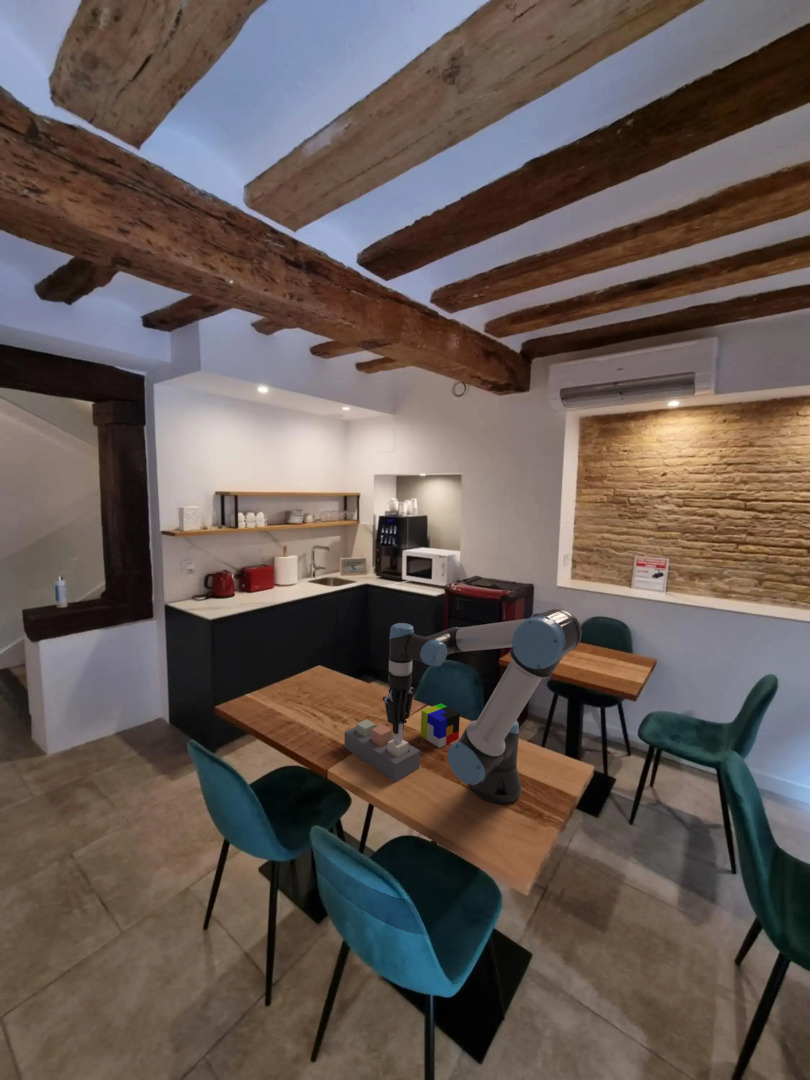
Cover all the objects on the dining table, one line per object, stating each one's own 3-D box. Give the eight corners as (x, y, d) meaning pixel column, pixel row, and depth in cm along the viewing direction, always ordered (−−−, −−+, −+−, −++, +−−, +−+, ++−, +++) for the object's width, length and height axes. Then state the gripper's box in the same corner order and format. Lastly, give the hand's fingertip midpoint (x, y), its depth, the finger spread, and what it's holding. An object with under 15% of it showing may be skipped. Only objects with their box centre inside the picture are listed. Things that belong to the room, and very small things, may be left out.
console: (419, 767, 149) (420, 750, 149) (395, 782, 142) (396, 764, 141) (368, 736, 168) (368, 721, 167) (344, 747, 160) (344, 731, 159)
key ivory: (407, 764, 149) (408, 742, 148) (397, 770, 145) (397, 748, 145) (397, 758, 152) (398, 736, 151) (386, 763, 149) (387, 741, 148)
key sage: (375, 744, 160) (375, 724, 159) (364, 749, 157) (365, 728, 156) (366, 739, 163) (366, 719, 163) (355, 743, 160) (356, 723, 159)
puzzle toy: (439, 748, 162) (440, 721, 161) (420, 736, 169) (421, 710, 168) (458, 739, 168) (459, 713, 167) (439, 728, 176) (441, 703, 175)
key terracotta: (390, 750, 154) (391, 729, 154) (380, 756, 151) (381, 734, 150) (381, 745, 158) (382, 724, 157) (370, 750, 154) (371, 729, 154)
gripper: (406, 663, 153) (403, 730, 155) (377, 673, 144) (375, 744, 146) (422, 670, 148) (419, 739, 150) (393, 680, 139) (391, 754, 141)
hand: (397, 741), depth 148 cm, fingers closed
